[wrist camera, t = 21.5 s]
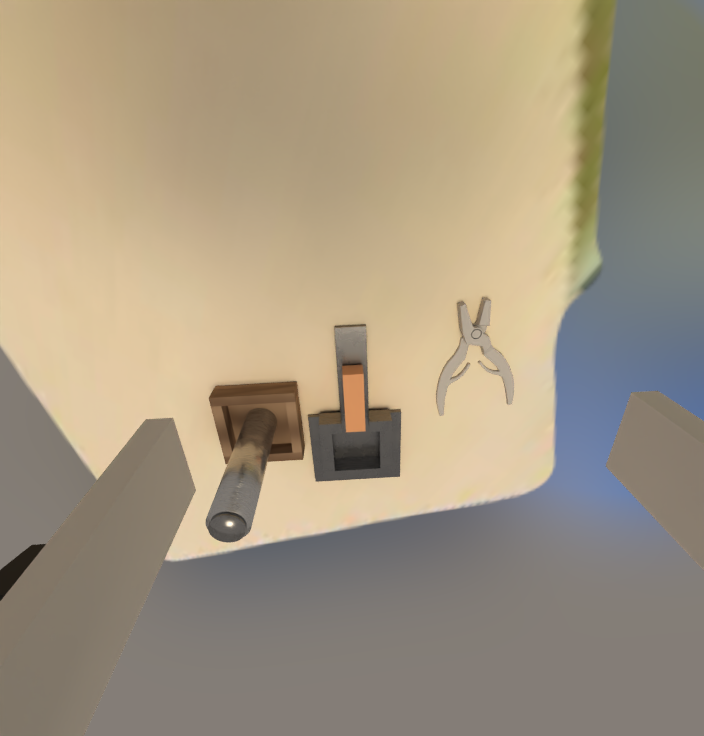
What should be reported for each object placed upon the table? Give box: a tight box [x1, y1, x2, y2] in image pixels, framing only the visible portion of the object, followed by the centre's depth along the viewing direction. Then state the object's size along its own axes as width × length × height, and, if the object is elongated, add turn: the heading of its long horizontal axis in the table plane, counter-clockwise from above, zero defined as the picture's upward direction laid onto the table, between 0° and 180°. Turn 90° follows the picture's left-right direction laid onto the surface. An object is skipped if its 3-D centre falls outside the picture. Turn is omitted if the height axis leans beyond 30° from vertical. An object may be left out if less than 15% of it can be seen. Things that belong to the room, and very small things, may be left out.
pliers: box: [436, 297, 514, 416], centre depth 45 cm, size 10×2×15 cm
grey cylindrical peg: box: [206, 408, 277, 542], centre depth 40 cm, size 4×4×17 cm
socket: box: [308, 325, 401, 481], centre depth 47 cm, size 23×12×3 cm, turn 3°
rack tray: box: [209, 382, 305, 464], centre depth 47 cm, size 10×10×3 cm
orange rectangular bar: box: [342, 365, 366, 432], centre depth 45 cm, size 8×2×2 cm, turn 3°
